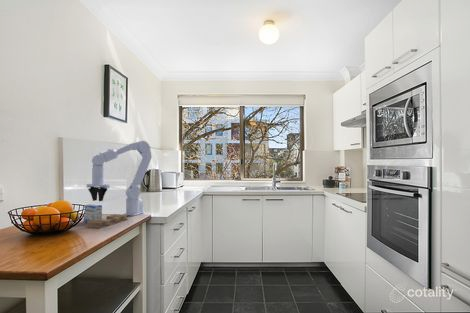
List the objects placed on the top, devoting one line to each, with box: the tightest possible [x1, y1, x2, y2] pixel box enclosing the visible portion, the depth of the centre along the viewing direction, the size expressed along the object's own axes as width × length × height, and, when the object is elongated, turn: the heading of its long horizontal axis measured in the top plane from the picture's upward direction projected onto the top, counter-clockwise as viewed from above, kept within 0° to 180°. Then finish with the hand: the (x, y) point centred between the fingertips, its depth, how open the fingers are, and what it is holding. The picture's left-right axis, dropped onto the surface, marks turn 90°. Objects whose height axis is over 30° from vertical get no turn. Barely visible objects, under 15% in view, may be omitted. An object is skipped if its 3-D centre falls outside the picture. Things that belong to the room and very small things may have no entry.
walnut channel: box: [86, 213, 128, 229], centre depth 139 cm, size 18×8×2 cm, turn 161°
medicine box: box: [83, 203, 103, 223], centre depth 142 cm, size 8×4×9 cm, turn 73°
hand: (97, 200), depth 152 cm, fingers open, 4 cm apart
